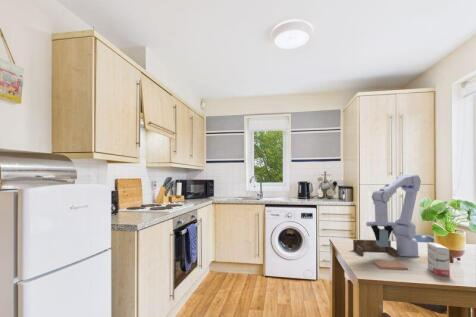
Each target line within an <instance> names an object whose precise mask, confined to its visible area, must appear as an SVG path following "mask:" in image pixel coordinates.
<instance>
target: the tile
mask: <svg viewBox="0 0 476 317" xmlns="http://www.w3.org/2000/svg"><path fill="white" fill-rule="evenodd" d="M372 263H373V264H374V265H375V266H376V267H378V268H379V269H381V270H402V271H403V270H406V271H408V270H409V267H407V266H406V265H405V264H403V263H402V262H401V261H396V260H395V261H393V260H373V262H372Z"/></svg>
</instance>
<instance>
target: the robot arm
mask: <svg viewBox="0 0 476 317" xmlns="http://www.w3.org/2000/svg"><path fill="white" fill-rule="evenodd" d="M421 181H422V180H421V178H420V175H419V174H398V175H397V176H396V179H395V180H394V181H392V182H391V183H386V184H385V185H384V186H383V187H381V188H379V190H375V191H373V192H372V195H371V199H372V201H373V205H374V220H375V221H366V222H365V223H366V227H370V228H371V229H372V232H373V234H374V237H375V240H377V241H379V229H380V227H383V229H385V230H387V231H388V241H389V240H390V236H391V234H393V235H394V237H395V242H396V250H397V256H399V257H417V258H418V257H420V255H419V244H418V243H419V242H418V240H417V239H416V238H415V237H416V233H417V232H416V225H415V224H414V223H413V222H412V218H413V213H414V210H415V205H416V204H415V203H416V200H417V195H418V192H419V191H420V189H421V183H422V182H421ZM399 188H401V189H402V191H404V192H405V193H404V194H405V195H404V198H403V204H402V208H401V213H400V217H399V219H397V220H395V221H394V222H392V221H390V222H389V220H388V219H389V218H388V216H389V215H388V202H389V201H390V199H391V197H392V196H393V195H394V194H396V193H397V190H398V189H399Z"/></svg>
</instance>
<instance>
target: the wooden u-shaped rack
mask: <svg viewBox="0 0 476 317" xmlns="http://www.w3.org/2000/svg"><path fill="white" fill-rule="evenodd" d="M352 244H353V246H352V247H353V248H352V250H353V251H356V253H358V254H359V255H360V256H362V257H363V256H364V252H385V253H386V252H387V253H389V254H390V255H392V256H393V257H394V258H398V254H397V248H394V247H393V246H392V242H391V240H390V239H389V241H388V244H389V247H380V246H379V245H377V244H376V239H352Z"/></svg>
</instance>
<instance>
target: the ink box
mask: <svg viewBox="0 0 476 317" xmlns="http://www.w3.org/2000/svg"><path fill="white" fill-rule="evenodd" d="M426 247H427V269H428V270H429V271H431V272H432V273H434V274H435V275H437V276H444V277H445V276H446V277H450V274H451V272H450V248H448V247H446V246H444V245H442V244H440V243H436V242H428V243H427V246H426Z"/></svg>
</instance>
